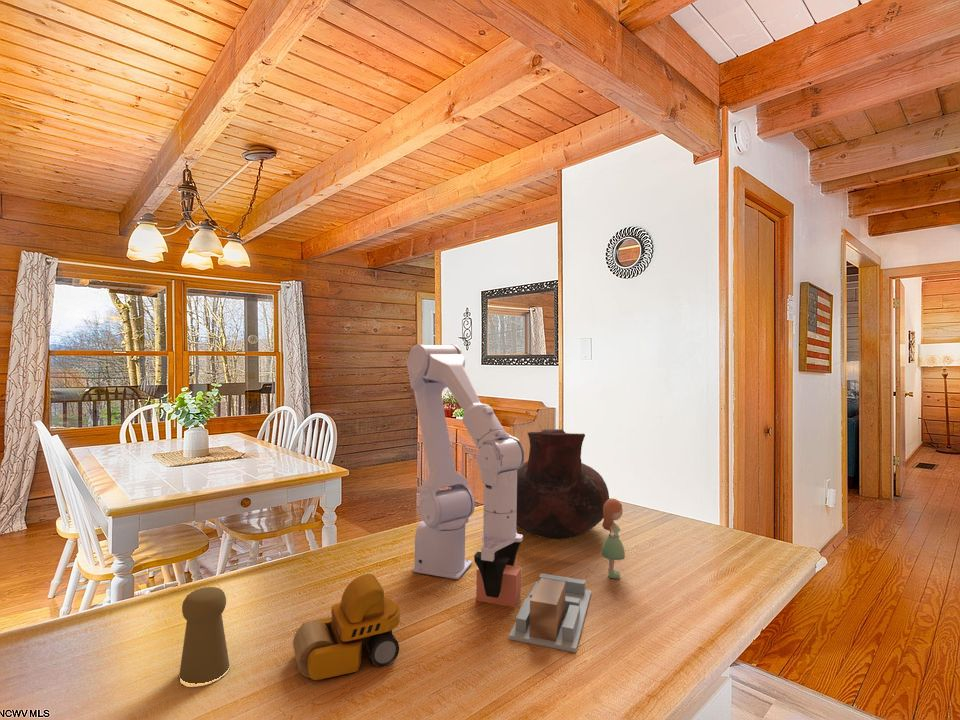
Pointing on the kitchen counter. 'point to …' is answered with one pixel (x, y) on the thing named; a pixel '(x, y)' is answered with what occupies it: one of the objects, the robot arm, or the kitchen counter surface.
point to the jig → (573, 619)
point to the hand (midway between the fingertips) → (499, 586)
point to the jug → (558, 488)
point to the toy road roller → (349, 632)
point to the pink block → (502, 587)
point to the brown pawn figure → (204, 636)
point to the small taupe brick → (547, 609)
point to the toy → (612, 535)
